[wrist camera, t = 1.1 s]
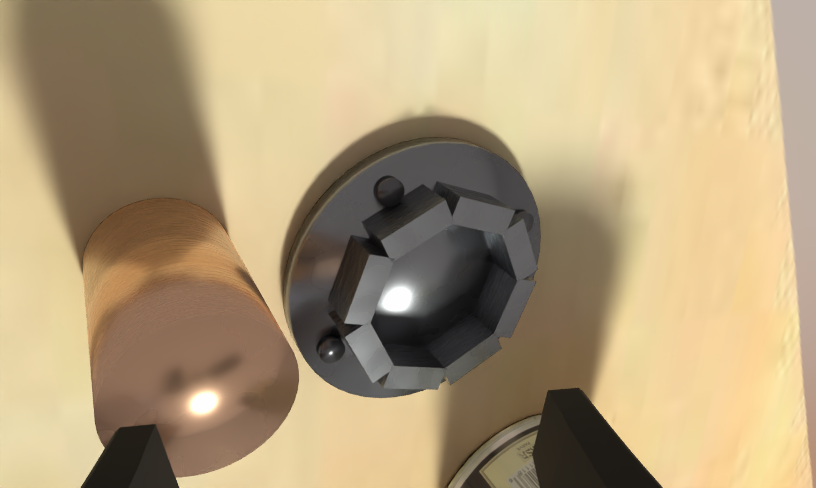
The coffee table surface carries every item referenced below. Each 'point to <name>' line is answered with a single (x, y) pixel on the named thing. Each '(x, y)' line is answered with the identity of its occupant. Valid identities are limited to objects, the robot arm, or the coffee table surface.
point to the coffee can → (503, 460)
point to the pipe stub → (182, 337)
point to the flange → (412, 268)
